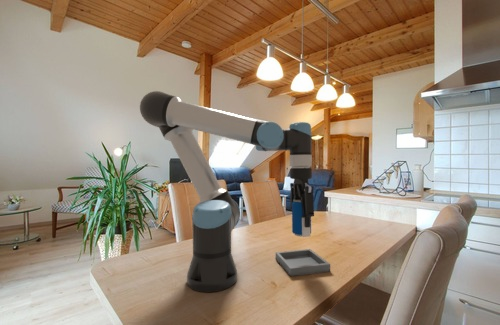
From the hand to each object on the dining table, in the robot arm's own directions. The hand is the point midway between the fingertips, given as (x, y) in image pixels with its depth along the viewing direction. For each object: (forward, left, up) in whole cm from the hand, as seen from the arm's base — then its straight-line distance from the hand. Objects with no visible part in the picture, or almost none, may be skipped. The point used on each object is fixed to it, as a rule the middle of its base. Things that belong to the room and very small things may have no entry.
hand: (301, 233), depth 84 cm
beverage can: (0, 0, -1) cm, 1 cm away
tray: (0, 0, -11) cm, 11 cm away
